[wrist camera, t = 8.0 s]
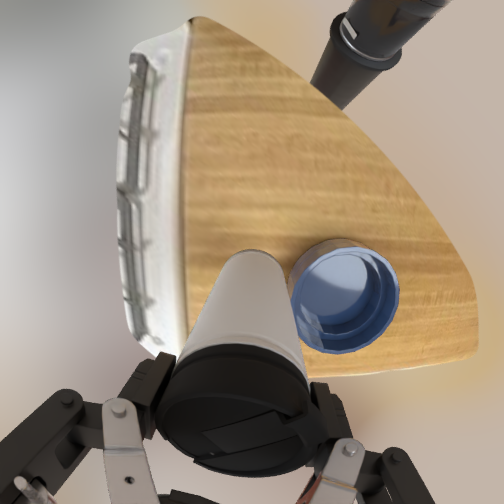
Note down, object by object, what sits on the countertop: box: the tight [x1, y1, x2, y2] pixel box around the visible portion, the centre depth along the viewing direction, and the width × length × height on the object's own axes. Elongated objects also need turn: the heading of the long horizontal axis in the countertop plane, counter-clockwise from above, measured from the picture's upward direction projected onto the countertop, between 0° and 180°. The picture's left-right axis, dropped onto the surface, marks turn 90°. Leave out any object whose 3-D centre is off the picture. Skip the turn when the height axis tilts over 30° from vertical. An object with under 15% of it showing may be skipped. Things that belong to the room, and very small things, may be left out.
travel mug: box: [154, 249, 329, 478], centre depth 17 cm, size 6×7×20 cm
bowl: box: [287, 238, 400, 355], centre depth 34 cm, size 14×14×6 cm
